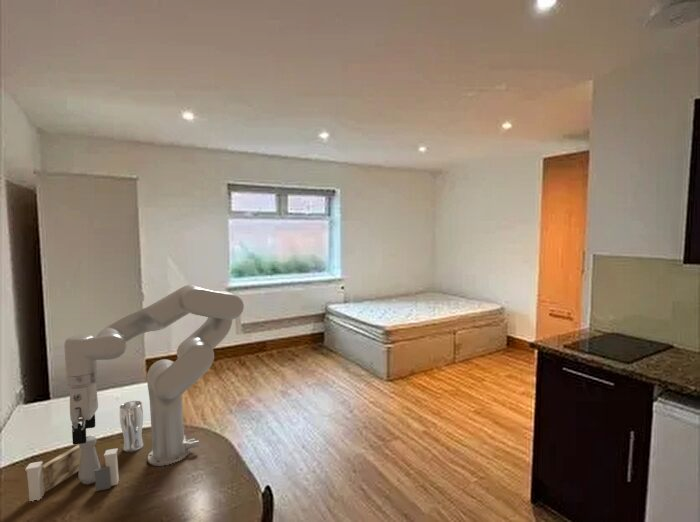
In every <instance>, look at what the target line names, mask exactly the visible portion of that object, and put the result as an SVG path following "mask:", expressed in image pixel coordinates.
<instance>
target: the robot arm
mask: <svg viewBox="0 0 700 522" xmlns="http://www.w3.org/2000/svg"><path fill="white" fill-rule="evenodd" d="M244 305H245V304H244V302H243V299H242V298H241V297H240V296H239V295H237V294H234V293H232V292H230V291H226V290H219V291H214V290H210V289H206V288H203V287H199V286H197V285H193V284H187V285H184V286H182V287H179V288H178V289H176V290H175V291H173V292H171V293H170V294H168V295H166V296H165V297H162V298H160V299H159V300H157V301H156V302H154V303H151V304H150V305H148V306H146V307H144V308H141V309H139V310H137V311H135V312H133V313H130V314H128V315H126V316H124V317H122V318H120V319H118V320H116V321H115V322H113V323H111V324H108V326H106V327H104V328H103V329H102V330H100V331H99V332H98V333H97V334H96V336H93V335H90V334H78V335H77V334H76V335H74V336H71V337H68V338H67V339H65V341H64V361H65V362H64V363H65V364H64V365H65V383H66V388H69V417H70V421H71V424H72V425H71V436H72V445H73V446H74V445H75V446H77V445H79V444H83V443H86V437H87V429H94V428H96V412H97V411H98V408H99V402H98V401H99V400H98V399H99V398H98V391H97V382H98V367H97V361H103V360H104V361H105V360H106V361H108V360H116V359H118V358H120V357H122V355H124V354H125V352H126V350H127V342H129V341H131V340H133V339H134V338H136V337H138V336H140V335H142V334H145V333H149V332H157V331H161V330H163V329H164V330H165V329H166V328H168V327H169V326H170V325H172V324H174V323H175V322H177V321H179V320H180V319H182V318H184V317H185V316H187V315H189V314H191V315H195V316H201V317H205V318H207V319H206V320H205V322H203V323H202V324H201V325H200V326H199V327H198V328H197V329H195V331H193V333H191V334H190V335H188V337H187V338H185V339H184V340H183V341H181V343H180V344H179V345H178V347H177V349H176V356H177V359H176V360H175V361H173V360H170V359H167V358H166V359H159V360H157V361H155V362H154V363H153V364H151V366H150V367H149V369H148V370H147V375H146V382H147V390H148V399H149V409H150V410H149V412H150V426H151V429H150V430H151V442H152V444H151V445H152V446H151V447H152V450H151V451H150V452H149V453H148V455H147V461H148V463H149V465H152V466H156V467H165V466H164V465H166V466H170V465H169V464H171V465H173V464H172V463H174V464H176V463H175V462H177V461H179V462H181V461H183V460H184V459H185V458H187V457H188V456H187V455H189V454H190V451H191V449H192V448H194V449H195V448H198V447H199V446H200V441H199V440H196V438H190V439H188V438H186V437H187V436H186V435H185V431H184V412H183V411H184V410H183V409H184V408H183V396H182V395H183V394H184V393H186V391H188V390H189V389H190V388H191V387H192V386H193V385H195V383H197V382H198V381H199V379H200V378H201V377H203V376H204V375H205V374H206V373H207V372H208V371H209V370H210V368H211V367H212V365H213V363H214V360H215V351H214V349H215V348H216V347H217V346H218V345H219V344H221V342H222V341H223V340H224V339H225V338H226V337H227V335H228V333H229V332H230V331H231V328H232V324H233V320H235V319H238V318H239V317H240V316H241V315H242V313H243V312H244V308H245V306H244ZM199 448H200V447H199ZM186 456H187V457H186ZM183 458H184V459H183ZM182 459H183V460H182ZM180 460H181V461H180ZM177 463H178V462H177Z"/></svg>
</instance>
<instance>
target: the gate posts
mask: <svg viewBox="0 0 700 522" xmlns="http://www.w3.org/2000/svg"><path fill="white" fill-rule="evenodd" d="M118 451H119V448H111V449H106V450H105V452H104V454H103V458H105V467H101V468H98V469H95V482H94V483H95V492H99V491H104V490H108V489H111V487H113V486H117V485H118V483H119V480H120V478H119V462H118V461H119V460H118ZM42 465H44V463H43V460H41V461H36V462H35V461H34V462H30V463H29V464H28V465H27V466H26V467H25V472H26V474H27V487H28V496H29V502H30V501H32V502H35V501H34V500H37V501H41V500H42V499H43V497H44V495H45V491H44V488H43V477H42ZM42 496H43V497H42ZM40 499H41V500H40Z"/></svg>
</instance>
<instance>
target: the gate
mask: <svg viewBox="0 0 700 522" xmlns="http://www.w3.org/2000/svg"><path fill="white" fill-rule="evenodd" d="M81 454H82V449H81V448H80V447H79V444H76V445H75V446H73V447H72V448H70V449H68V450H67V451H64V452H63V453H61V454H60V455H57V456H56V457H54V458H53V459H51V460H49V461H47V462H45V463H43V464H42V477H43V488H44V492H46V491H48V490H50V489H52V488H53V487H55V486H56V485H58V484H60V483H61V482H63V481H64V480H66V479H67V478H69V477H71V476H73V475H74V474H76V473H78V472H79V467H80V460H81Z"/></svg>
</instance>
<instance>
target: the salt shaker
mask: <svg viewBox="0 0 700 522" xmlns="http://www.w3.org/2000/svg"><path fill="white" fill-rule="evenodd" d="M96 444H97V438H96V437H95V436H94V435H88V436H87V435H86V443H83V444H78V445H79V447H80V448H81V449H82V454H81V460H80V467H79V471H78V472H77V473H78V474H77V476H78V480H79V481H80V482H81V483H82V484H83V485H91V484H94V483H95V469H98V468H102V467H101V464H100V460H99V457H98V452H97V449H96V447H95V446H96Z"/></svg>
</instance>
